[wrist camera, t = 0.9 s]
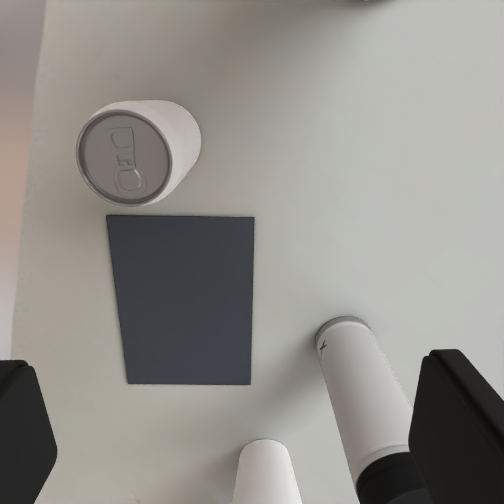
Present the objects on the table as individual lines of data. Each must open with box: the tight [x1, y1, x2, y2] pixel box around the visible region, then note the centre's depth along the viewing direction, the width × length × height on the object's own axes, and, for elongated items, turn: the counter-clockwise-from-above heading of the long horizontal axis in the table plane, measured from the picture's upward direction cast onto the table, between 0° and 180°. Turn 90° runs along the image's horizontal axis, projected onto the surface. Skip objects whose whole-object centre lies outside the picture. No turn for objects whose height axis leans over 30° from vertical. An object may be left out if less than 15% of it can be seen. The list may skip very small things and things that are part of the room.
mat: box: [106, 215, 254, 385], centre depth 39 cm, size 20×14×1 cm
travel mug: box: [316, 317, 434, 504], centre depth 32 cm, size 6×7×20 cm
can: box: [76, 100, 201, 206], centre depth 28 cm, size 6×6×12 cm
